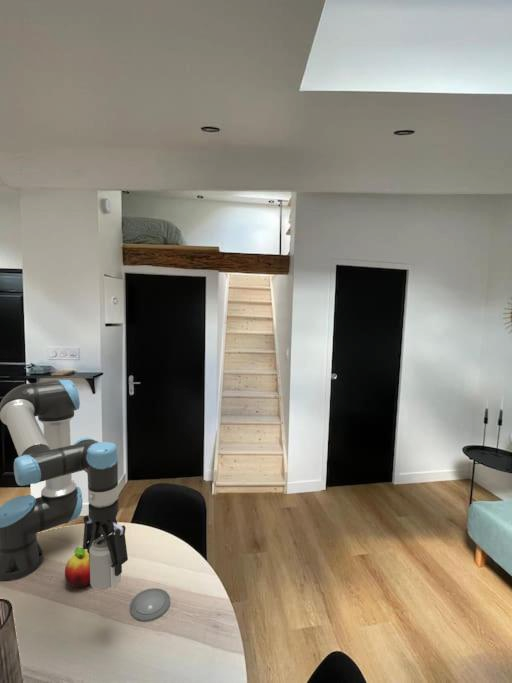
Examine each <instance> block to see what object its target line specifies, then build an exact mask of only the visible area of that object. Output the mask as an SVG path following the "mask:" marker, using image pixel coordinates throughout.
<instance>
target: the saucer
mask: <svg viewBox="0 0 512 683" xmlns="http://www.w3.org/2000/svg"><path fill="white" fill-rule="evenodd" d="M170 605H171V597H170V595H169V593H168V591H166V590H165V589H162V588H155V587H152V588H148V589H144V590H142V591H140V592H139V593H137V594H136V595H135V596H134V597H133V598H132V600H131V601H130V603H129V613H130V616H131V617H132V618H133V619H134V620H137V621H139V622H151V621H152V622H153V621H155V620H157V619H159V618H161V617H162V616H164V614H166V612H167V611H168V610H169V608H170V607H171V606H170Z"/></svg>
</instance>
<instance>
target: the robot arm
mask: <svg viewBox="0 0 512 683" xmlns="http://www.w3.org/2000/svg"><path fill="white" fill-rule="evenodd" d="M80 405H81V402H80V394H79V392H78V389H77V386H76V384H75V383H74V382H73V381H72V380H70V379H56V380H47V381H39V382H29V383H24V384H20V385H19V386H16V387H14V388H12V389H11V390H10V391H9V392H7V393H6V394H5V395H4V397H3V398H2V400H1V401H0V421H1V422H2V423H3V424H4V425H6V426H7V429H8V431H9V435H10V437H11V439H12V442H13V445H14V448H15V450H16V453H17V455H18V456H17V457H16V458H14V461H13V473H14V475H13V476H14V479H15V482H16V484H17V486H20V487H24V486H28V485H36V484H38V483H41V482H45V486H43V488H42V490H40V496H39V497H35V496H34V495H33V494H32V495H31V494H25V495H24V494H23V495H19V496H16V497H14V498H11V499H9V500H7V501H6V502H4V503H3V504H2V505H0V581H3V580H8V581H13V579H14V580H18V579H21V578H24V577H26V576H28V575H29V574H31V572H32V573H33V572H35V571H36V570H37V569H38V568H40V566H41V565H42V563H43V561H44V551H43V549H42V546H41V545H40V543H39V540H38V536H37V534H38V533H41V532H44V531H47V530H49V529H52V528H56V527H58V526H61V525H64V524H68V523H69V522H72V521H74V520H77V519H79V517H80V516H81V513H82V510H83V493H82V489H81V488H80V487H79V486H77V484H76V482H74V481H73V480H72V479H73V478H72V477H73V476H72V475H73V474H75V473H78V472H83V471H85V473H86V475H87V490H88V514H87V515H85V516H84V517H83V524H84V528H83V539H82V540H83V541H82V548H83V549H84V550H87V552H88V553H89V549H90V547H91V546H92V542H93V541H94V540H96V539H98V538H99V537H100V536H103V537H104V541H106V542H107V545H108V549H109V552H110V555H111V559H112V562H113V563H112V564H111V587H110V588H111V589H114V588H115V587H117V586H118V585H119V584H120V583H121V582H122V573H123V564H125V563H126V562H127V561H128V560H129V557H128V551H127V550H128V549H127V542H126V534H125V533H126V526H125V525H124V524H123V525H121V526H120V525H119V524H118V520H117V515H118V513H119V510H120V509H119V474H118V473H119V468H118V467H119V466H118V465H119V464H118V463H119V462H118V461H119V455H118V454H119V453H118V447H117V445H116V444H115V443H114V442H109V441H100V442H99V441H97V440H95V439H93V438H91V437H82V438H80V439H78V440H77V441H75V443H73V444H71V420H72V419H73V418H74V417H75V411H77V410H79V409H80ZM36 417H37V419H38V420H37V419H36ZM38 421H39V422H40V423H41V424H42V425H43V426H42V427H43V431H42V429H41V427H40V424H39V423H38ZM108 535H109V536H108ZM98 543H99V542H98ZM98 543H97V544H98ZM89 562H90V554H89ZM23 576H24V577H23ZM20 577H21V578H20ZM17 578H18V579H17ZM11 579H12V580H11Z"/></svg>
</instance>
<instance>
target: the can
mask: <svg viewBox="0 0 512 683" xmlns="http://www.w3.org/2000/svg"><path fill="white" fill-rule="evenodd" d="M108 536H109V535H108ZM98 542H99V543H98ZM97 543H98V544H97ZM89 554H90V584H89V585H90V586H91V587H92V588H94V589H96V590H97V591H98V590H99V591H101V590H103V591H105V590H107V589H110V588H111V564H112V563H113V562H112V559H111V555H110V552H109V549H108V545H107V542H106V541H104V537H103V535H101V536H100V537H99V538H98V539H96V540H94V541H93V542H92V546H91V547H90V549H89Z"/></svg>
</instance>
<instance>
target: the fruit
mask: <svg viewBox="0 0 512 683" xmlns="http://www.w3.org/2000/svg"><path fill="white" fill-rule="evenodd" d="M73 551H74V552H73V553H74V554H73V555H72V556H71V557H70V558H69V560H68V561H67V563H66V566H65V569H64V577H65V579H66V582H67V583H68V584H69V585H70V586H71V587H74V588H84V587H86V586H88V585H91V584H90V562H89V553H88V552H87V549H85V550H84V549H83V547H80V546H76V548H75V549H74V550H73Z"/></svg>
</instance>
